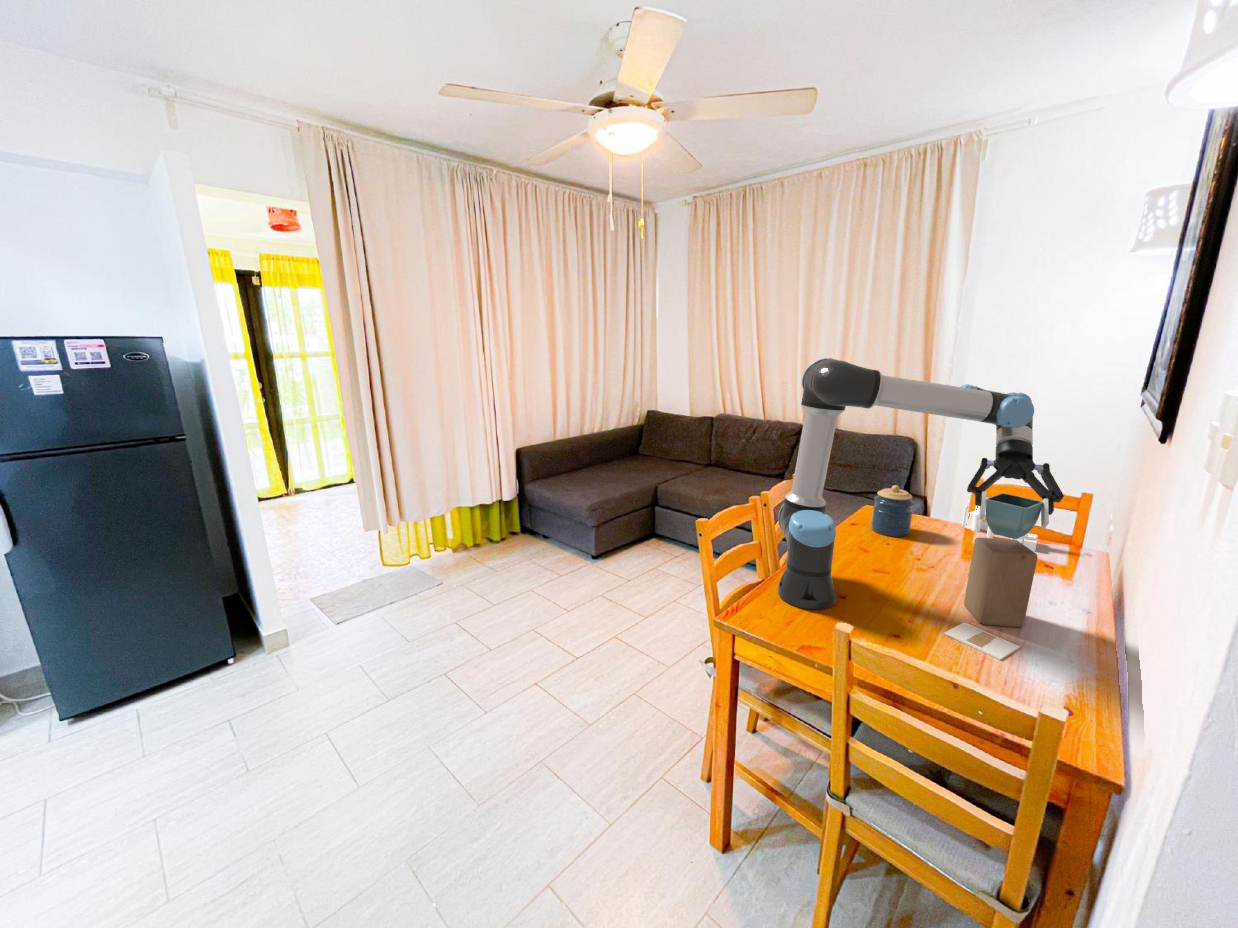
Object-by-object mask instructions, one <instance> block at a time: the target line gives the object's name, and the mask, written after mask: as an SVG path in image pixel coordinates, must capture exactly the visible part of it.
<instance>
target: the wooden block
mask: <svg viewBox="0 0 1238 928" xmlns="http://www.w3.org/2000/svg"><path fill="white" fill-rule="evenodd" d="M1038 559H1039V558H1038V554H1037V553H1036V551H1035V552H1033V551H1032V550H1030V549H1029V548H1027V547H1026V546H1025V545H1023V544H1022V543H1020V542H1019V541H1017V540H1013V539H1011V538H995V537H993V538H989V537H975V539H974V542H973V549H972V553H971V560H970V566H969V572H968V578H967V581H966V582H967V584H966V587H965V594H964V600H963V604H964V607H965V608H966V609H967V610H968V612H970V614H971V615H972V616H973V617H974V618H975V620H976V621H977V622H978V623H980V624H982V625H989V626H990V625H991V626H1001V627H1011V628H1012V627H1013V628H1023V627H1024V625H1025V621H1026V615H1027V611H1028V606H1029V600H1030V597H1031V596H1030V595H1031V591H1032V588H1033V587H1032V586H1033V582H1034V577H1035V572H1036V567H1037V563H1038Z"/></svg>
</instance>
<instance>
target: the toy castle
mask: <svg viewBox="0 0 1238 928" xmlns="http://www.w3.org/2000/svg"><path fill="white" fill-rule="evenodd" d="M968 505H969V504H968V502H966V504H965V506H964V510H963V516H962V517H963V518H962V523H961V527H962V528H965V529H968V530H971V531H973V532H976V533H978V532H981V531H985V532H986V538H994V536H995V534H994V533H992V531H991V530H990V528H989V526H988V524H987V522H982V521H987V520H986V508H985V516H984V519H983V520H981V519H979V515H980V506H978V508H977V506H976V505H975V510H973V511H970V512H968V510H969V506H968ZM976 509H977V510H976ZM969 513H970V517H969V519H968V516H969ZM966 524H967V525H966ZM1038 537H1039V535H1038V534H1036V533H1035V534H1034V533H1030V532H1028V533H1027V534H1026V535H1025V536H1022V537H1020V538H1018V539H1013V540H1017V541H1019V542H1020V543H1022V544H1023V545H1025V546H1026V547H1027V548H1029V549H1030V550H1032V551H1033V552H1035V553H1036V548H1037V544H1038ZM1010 539H1012V538H1010Z"/></svg>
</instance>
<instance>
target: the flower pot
mask: <svg viewBox="0 0 1238 928" xmlns="http://www.w3.org/2000/svg"><path fill="white" fill-rule="evenodd" d="M1042 501H1043V500H1042ZM1042 501H1041V500H1037V499H1032V498H1028V497H1023V496H1018V495H1015V494H1014V495H1013V494H1010V493H1009V494H1008V493H999V494H996V495H993V496H990V497H986V506H985V509H986V520H987V524H988V526H989V528H990V530H991V531H992V533H994V535H998V536H1002V537H1005V538H1007V539H1011V538H1012V539H1018V538H1020V537H1022V536H1025V535H1026V534H1027V533H1030V532H1031V530H1032V529H1033V528H1034V527H1035V525H1036V524H1037V522H1038V520H1039V517H1040V516H1041V509H1042V506H1043V504H1044V502H1042Z"/></svg>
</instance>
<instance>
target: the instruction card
mask: <svg viewBox="0 0 1238 928" xmlns="http://www.w3.org/2000/svg"><path fill="white" fill-rule="evenodd" d="M944 636H947V637H950V638H952V639H953V640H956V641H959V642H960V643H963V644H964V645H967V646H969V647H971V648H973V649H975V650H978V651H980V652H982V653H984V654H985V655H988V656H990V657H993V658H994V659H996V660H999V661H1002V660H1003V659H1005V658H1006V657H1008V656H1010V655H1012V653H1014V652H1016V651H1017V650H1019V649H1020V648H1021V646H1020V645H1017V644H1015V643H1013V642H1010V641H1008V640H1006V639H1004V638H1001V637H1000V636H997V635H994V634H993V633H990V632H988V631H985V630H983V629H980V628H979V627H976V626H974V625H972V624H969V623H967V622H961V623H960V624H958V625H957V626H954V627H953V628H950V629H949V630H947V631H945V632H944Z"/></svg>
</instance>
